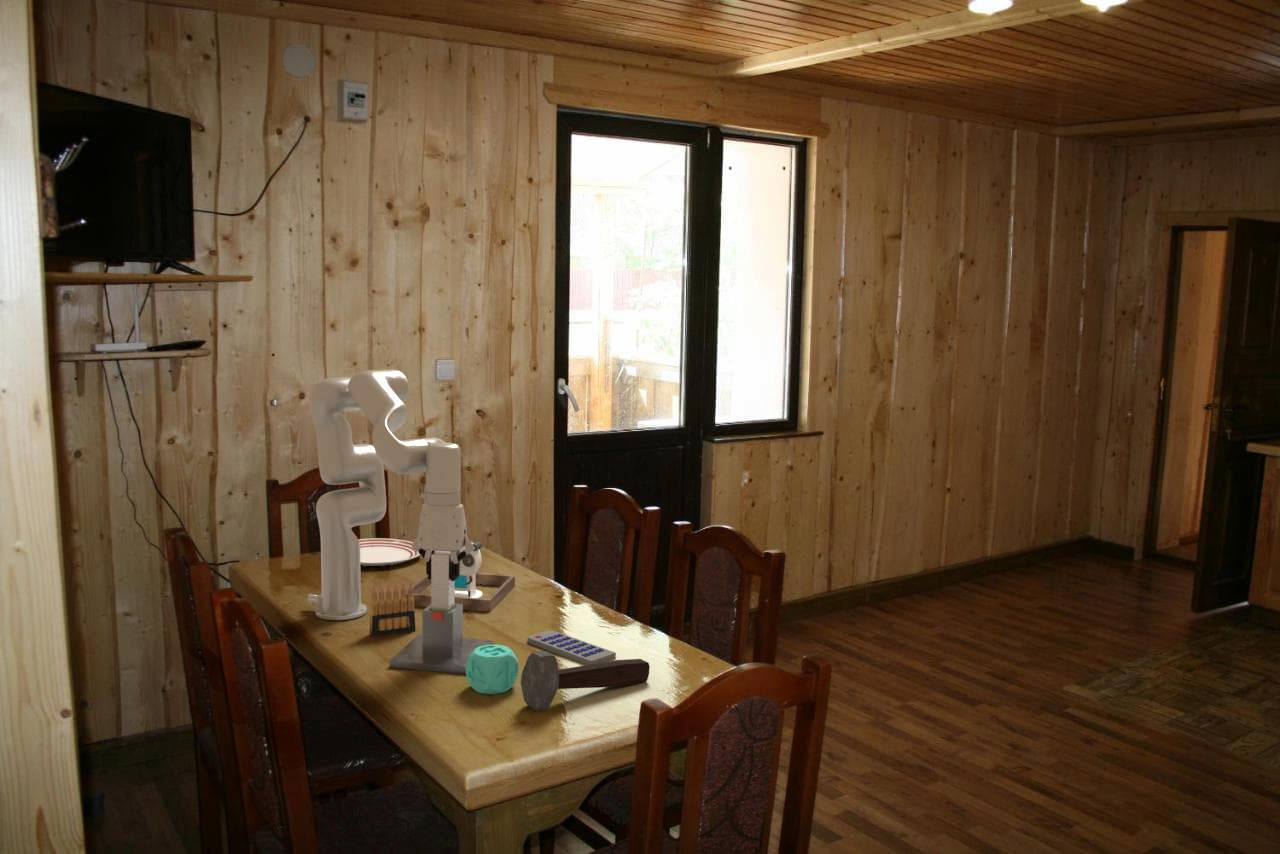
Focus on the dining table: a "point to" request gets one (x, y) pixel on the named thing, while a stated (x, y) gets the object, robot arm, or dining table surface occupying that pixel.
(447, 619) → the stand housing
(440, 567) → the column
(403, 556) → the dinner plate
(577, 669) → the hammer
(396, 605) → the ammunition clip
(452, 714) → the dining table surface
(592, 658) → the remote control
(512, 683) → the decorative dice
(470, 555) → the panda figurine
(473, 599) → the frame
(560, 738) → the dining table surface
